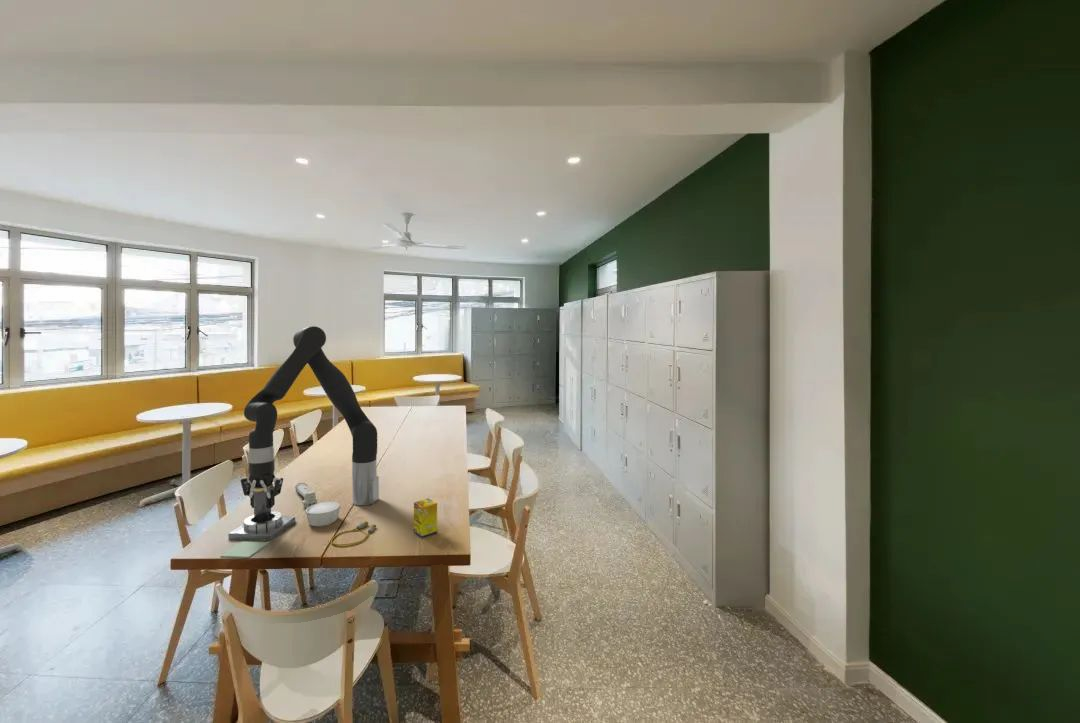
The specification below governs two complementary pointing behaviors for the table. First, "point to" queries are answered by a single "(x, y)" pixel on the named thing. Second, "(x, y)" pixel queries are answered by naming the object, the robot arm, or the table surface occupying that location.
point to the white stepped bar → (306, 495)
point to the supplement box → (425, 517)
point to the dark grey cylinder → (261, 505)
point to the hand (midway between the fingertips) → (262, 507)
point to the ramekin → (322, 513)
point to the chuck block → (262, 527)
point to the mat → (244, 549)
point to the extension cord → (356, 530)
